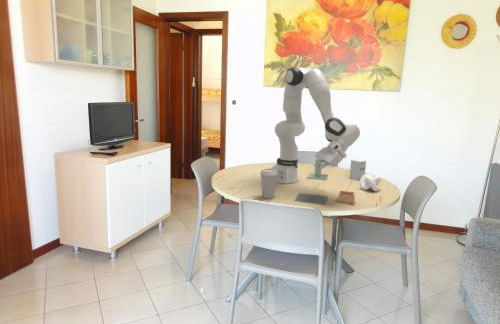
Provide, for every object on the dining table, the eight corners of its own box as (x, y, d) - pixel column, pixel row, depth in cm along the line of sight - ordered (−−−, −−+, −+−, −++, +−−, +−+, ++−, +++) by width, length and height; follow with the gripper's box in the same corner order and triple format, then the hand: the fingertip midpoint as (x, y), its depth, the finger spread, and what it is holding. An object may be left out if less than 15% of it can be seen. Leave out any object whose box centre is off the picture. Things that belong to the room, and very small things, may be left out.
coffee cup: (280, 197, 194) (281, 170, 191) (269, 200, 187) (270, 173, 184) (266, 193, 200) (267, 167, 197) (255, 196, 193) (256, 169, 190)
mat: (294, 201, 186) (294, 201, 186) (299, 193, 201) (299, 192, 201) (325, 205, 182) (325, 204, 182) (327, 196, 197) (328, 196, 197)
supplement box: (358, 180, 235) (360, 161, 233) (349, 178, 241) (350, 159, 238) (364, 179, 240) (366, 160, 237) (355, 176, 246) (357, 158, 243)
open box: (338, 202, 187) (338, 194, 186) (338, 198, 194) (339, 190, 193) (353, 204, 184) (354, 196, 183) (354, 200, 192) (354, 192, 191)
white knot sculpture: (356, 190, 212) (357, 175, 210) (362, 186, 222) (363, 172, 220) (375, 193, 206) (377, 178, 204) (380, 189, 216) (382, 174, 214)
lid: (306, 178, 185) (308, 159, 183) (309, 174, 195) (310, 156, 193) (326, 180, 182) (327, 161, 180) (328, 176, 192) (329, 158, 190)
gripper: (323, 142, 197) (306, 159, 196) (341, 148, 177) (321, 167, 177) (330, 150, 198) (313, 167, 198) (348, 156, 179) (329, 176, 179)
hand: (317, 167), depth 187 cm, fingers closed on lid, 4 cm apart
